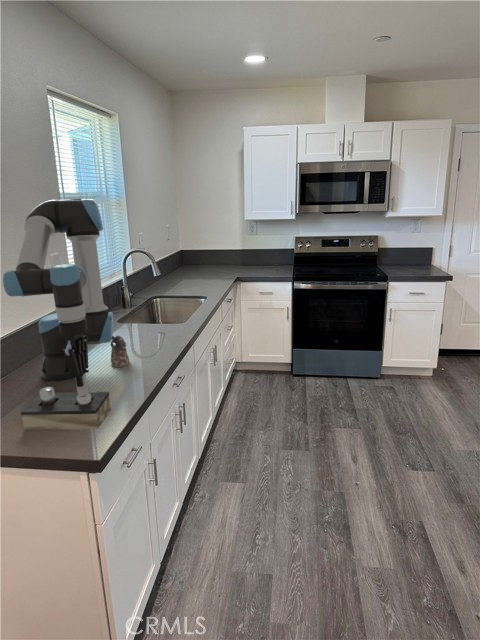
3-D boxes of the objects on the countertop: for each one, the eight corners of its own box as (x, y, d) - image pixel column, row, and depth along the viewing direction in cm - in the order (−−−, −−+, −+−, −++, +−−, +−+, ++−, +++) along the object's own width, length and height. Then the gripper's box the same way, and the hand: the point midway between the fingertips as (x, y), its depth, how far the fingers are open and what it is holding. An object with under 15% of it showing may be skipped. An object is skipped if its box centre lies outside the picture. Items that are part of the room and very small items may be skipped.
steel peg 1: (46, 403, 133) (43, 387, 131) (58, 403, 132) (56, 386, 131) (40, 409, 129) (36, 392, 127) (53, 409, 129) (50, 392, 127)
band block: (43, 410, 138) (40, 393, 136) (111, 409, 137) (108, 391, 135) (24, 430, 126) (20, 411, 125) (98, 429, 125) (95, 410, 124)
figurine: (124, 367, 170) (121, 338, 166) (108, 366, 171) (104, 337, 168) (132, 360, 176) (129, 332, 173) (116, 360, 178) (113, 332, 174)
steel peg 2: (82, 408, 133) (79, 392, 131) (94, 408, 133) (92, 392, 131) (77, 414, 129) (74, 398, 127) (90, 414, 129) (87, 398, 127)
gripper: (68, 313, 129) (79, 385, 135) (48, 326, 116) (61, 405, 123) (93, 312, 128) (103, 385, 135) (75, 325, 116) (87, 404, 123)
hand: (83, 394), depth 129 cm, fingers closed
